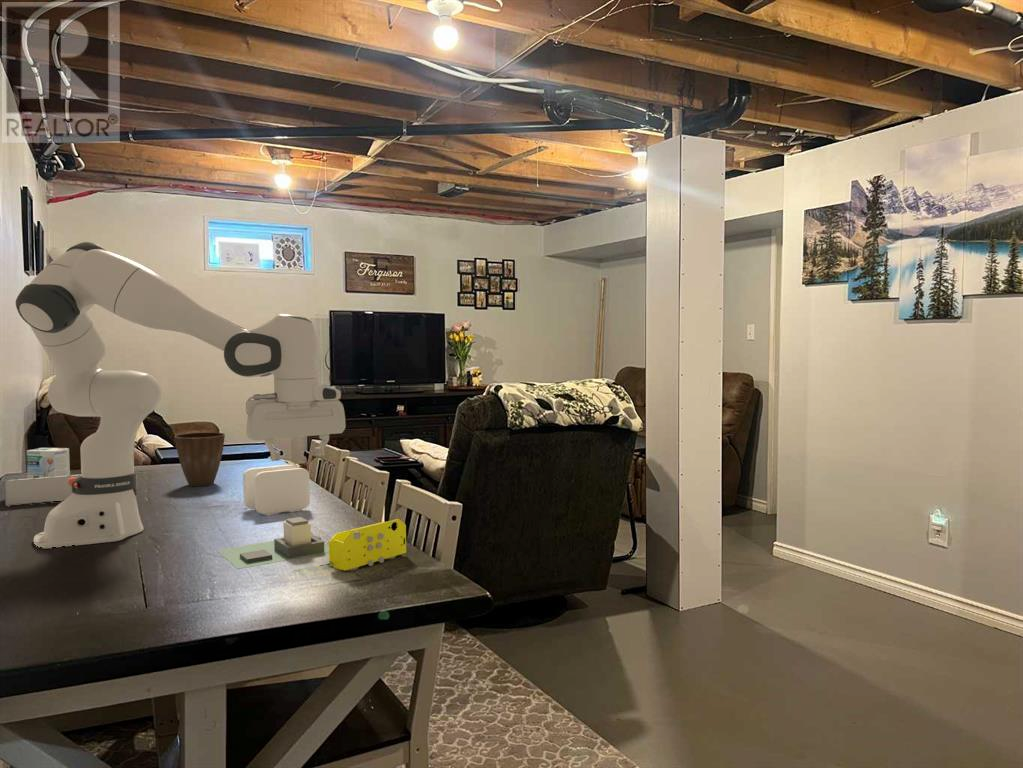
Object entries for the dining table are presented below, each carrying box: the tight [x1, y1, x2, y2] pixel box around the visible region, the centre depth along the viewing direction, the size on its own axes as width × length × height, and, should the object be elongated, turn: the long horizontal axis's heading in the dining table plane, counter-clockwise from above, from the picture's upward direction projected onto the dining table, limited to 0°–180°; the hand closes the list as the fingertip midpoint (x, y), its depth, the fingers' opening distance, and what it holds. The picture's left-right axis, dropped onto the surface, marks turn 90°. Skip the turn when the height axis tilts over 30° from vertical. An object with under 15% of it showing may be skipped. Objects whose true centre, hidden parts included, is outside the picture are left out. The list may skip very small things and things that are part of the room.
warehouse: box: [3, 474, 81, 506], centre depth 219 cm, size 30×14×8 cm, turn 119°
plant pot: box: [174, 431, 226, 487], centre depth 236 cm, size 15×15×16 cm
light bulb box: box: [26, 447, 71, 479], centre depth 243 cm, size 11×7×11 cm, turn 81°
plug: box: [283, 516, 312, 546], centre depth 154 cm, size 4×5×7 cm
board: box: [215, 534, 329, 570], centre depth 155 cm, size 20×16×4 cm
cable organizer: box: [242, 464, 311, 516], centre depth 199 cm, size 15×11×12 cm
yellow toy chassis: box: [328, 518, 407, 572], centre depth 151 cm, size 16×6×8 cm, turn 140°
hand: (298, 458), depth 154 cm, fingers open, 8 cm apart
